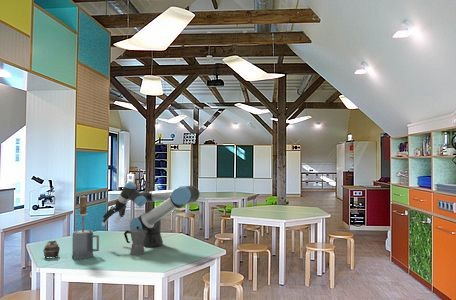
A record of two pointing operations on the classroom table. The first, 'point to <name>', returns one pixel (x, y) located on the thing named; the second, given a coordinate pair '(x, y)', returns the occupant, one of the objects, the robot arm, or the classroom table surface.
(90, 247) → the press carafe
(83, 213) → the plunger
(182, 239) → the classroom table surface
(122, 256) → the classroom table surface
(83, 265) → the classroom table surface
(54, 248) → the cupcake
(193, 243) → the classroom table surface
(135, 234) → the coffeepot
